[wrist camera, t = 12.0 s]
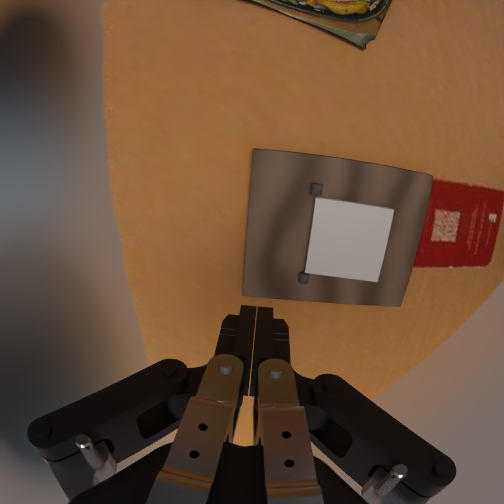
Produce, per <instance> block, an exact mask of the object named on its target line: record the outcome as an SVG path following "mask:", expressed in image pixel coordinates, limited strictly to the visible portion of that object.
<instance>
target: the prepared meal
mask: <svg viewBox="0 0 504 504" xmlns="http://www.w3.org/2000/svg"><path fill="white" fill-rule="evenodd" d="M251 1H255V2H258V3H260V4H263V5H265V6H268V7H270V8H272V9H275V10H277V11H279V12H282V13H284V14H287V15H289V16H292V17H294V18H297V19H300V20H303V21H305V22H308V23H311V24H313V25H316V26H318V27H321V28H323V29H326V30H328V31H330V32H333V33H335V34H337V35H339V36H341V37H343V38H345V39H347V40H349V41H351V42H353V43H355V44H357V45H359V46H360V47H362V48H364V49H366V43H368V42H369V40H372V39H375V37H376V35H377V32H378V30H379V28H380V26H381V24H382V21H383V19H384V17H385V15H386V13H387V11H388V9H389V6H390V4H391V2H392V0H370V2H368V1H366V0H358V1H347V2H337V1H327V0H251ZM302 1H305V2H302ZM378 1H379V3H378V4H377V5H376V8H374V9H373V10H372V11H370V8H371V7H372V6H374V5H375V4H376V3H377V2H378ZM368 3H370V5H369V4H368ZM314 9H319V10H321V11H317V10H314ZM322 11H324V12H322Z"/></svg>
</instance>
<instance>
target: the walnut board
mask: <svg viewBox="0 0 504 504" xmlns="http://www.w3.org/2000/svg"><path fill="white" fill-rule="evenodd" d="M432 180H433V176H432V175H429V174H425V173H421V172H416V171H411V170H407V169H402V168H397V167H391V166H386V165H381V164H375V163H369V162H363V161H357V160H351V159H344V158H338V157H330V156H323V155H315V154H307V153H298V152H289V151H279V150H268V149H256V148H254V149H253V157H252V171H251V184H250V198H249V211H248V225H247V239H246V253H245V268H244V282H243V296H251V297H262V298H273V299H285V300H298V301H311V302H325V303H340V304H357V305H376V306H398V307H400V306H401V304H402V300H403V297H404V294H405V291H406V288H407V285H408V282H409V278H410V275H411V271H412V268H413V264H414V261H415V257H416V254H417V250H418V246H419V242H420V238H421V234H422V230H423V225H424V221H425V216H426V212H427V207H428V202H429V197H430V192H431V186H432ZM315 197H322V198H329V199H336V200H343V201H350V202H356V203H363V204H369V205H375V206H381V207H387V208H393V209H394V213H393V218H392V223H391V228H390V233H389V237H388V242H387V246H386V250H385V254H384V259H383V263H382V267H381V270H380V274H379V278H378V282H372V281H364V280H356V279H348V278H341V277H333V276H325V275H317V274H310V273H305V267H306V261H307V254H308V248H309V241H310V234H311V227H312V220H313V213H314V205H315Z"/></svg>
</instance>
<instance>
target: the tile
mask: <svg viewBox="0 0 504 504" xmlns="http://www.w3.org/2000/svg"><path fill="white" fill-rule="evenodd" d="M393 213H394V209H393V208H387V207H381V206H375V205H369V204H363V203H356V202H350V201H343V200H336V199H329V198H322V197H315V205H314V213H313V220H312V227H311V234H310V241H309V248H308V254H307V261H306V267H305V273H310V274H317V275H325V276H333V277H341V278H348V279H356V280H364V281H372V282H378V278H379V274H380V270H381V267H382V263H383V259H384V254H385V250H386V246H387V242H388V237H389V233H390V228H391V223H392V218H393Z"/></svg>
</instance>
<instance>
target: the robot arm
mask: <svg viewBox="0 0 504 504" xmlns="http://www.w3.org/2000/svg"><path fill="white" fill-rule="evenodd" d="M255 317H256V306H246V305H241V309H240V315H231V314H229V315H228V316H227V317H226V318H225V319H224V320H223V322H222V326H221V330H220V335H219V338H218V342H217V346H216V351H215V355H214V357H213V358H211V359H210V360H209V362H208V364H206V365H204V366H201V367H196V368H187V366H186V365H185V364H184V363H183V362H181V361H179V360H176V359H164V360H161V361H159V362H157V363H155V364H153V365H151V366H149V367H147V368H145V369H143V370H141V371H139V372H137V373H135V374H133V375H131V376H129V377H127V378H125V379H123V380H121V381H119V382H117V383H114V384H112V385H110V386H109V387H106V388H104V389H102V390H100V391H98V392H96V393H93V394H91V395H89V396H87V397H85V398H82V399H80V400H78V401H76V402H74V403H72V404H70V405H67V406H65V407H63V408H60V409H58V410H56V411H54V412H51V413H49V414H46V415H44V416H42V417H40V418H37V419H35V420H34V421H33V422H32V423H31V424H30V425H29V427H28V432H27V434H28V438H29V441H30V442H31V443H32V445H33V446H34V447H35V449H36V450H37V451H38V453H39V455H40V456H41V457H42V458H43V460H44V461H45V462H46V463H47V464H48V465H49V467H50V468H51V470H52V472H53V473H54V475H55V477H56V479H57V480H58V482H59V484H60V486H61V488H62V489H63V491H64V493H65V494H66V496H67V497H68V499H69V501H70V502H69V503H68V504H425V503H426V502H427V501H429V500H430V499H432V498H433V497H434V496H435V495H437V494H438V493H439V492H440V491H441V490H443V489H444V488H445V487H446V486H447V485H449V484H450V483H451V482H452V481H453V479H454V478H455V475H456V466H455V464H454V462H453V461H452V460H451V459H450V458H449V457H448V456H446V455H445V454H443V453H442V452H440V451H439V450H438V449H436V448H435V447H434V446H432V445H431V444H429V443H428V442H426V441H425V440H424V439H422V438H421V437H419V436H418V435H417V434H415V433H414V432H412V431H411V430H410V429H408V428H407V427H406V426H404V425H403V424H402V423H400V422H399V421H397V420H396V419H395V418H393V417H392V416H391V415H389V414H388V413H387V412H385V411H384V410H382V409H381V408H380V407H379V406H377V405H376V404H375V403H373V402H372V401H371V400H369V399H368V398H367V397H365V396H364V395H363V394H362V393H360V392H359V391H358V390H356V389H355V388H354V387H352V386H351V385H350V384H349V383H347V382H346V381H345V380H343V379H342V378H341V377H339V376H337V375H333V374H322V375H319V376H317V377H316V378H315V379H314V380H313V379H310V378H306V377H303V376H301V375H299V374H298V373H296V372H295V371H294V370H293V368H292V366H291V363H290V345H289V328H288V325H287V324H286V322H285V321H284V319H274V318H273V308H269V307H258V310H257V320H256V330H255V340H254V351H253V362H252V373H251V384H250V395H249V396H254V405H253V446H245V447H244V446H239V445H236V444H233V440H234V435H235V431H236V426H237V422H238V417H239V413H240V407H241V405H242V401H243V396H248V389H249V380H250V370H251V360H252V350H253V339H254V328H255ZM177 428H178V431H177V433H176V436H175V438H174V441H173V442H172V443H169V444H166V445H163V446H161V447H159V448H157V449H155V450H154V451H152V452H150V453H149V454H147V455H146V456H144V457H143V458H141V459H139V460H138V461H136V462H135V463H133V464H131V465H130V466H128V467H126V468H125V469H123V470H121V471H120V472H118V473H117V474H115V473H116V470H117V463H119V462H121V461H122V460H125V459H126V458H128V457H130V456H132V455H134V454H135V453H137V452H139V451H141V450H142V449H144V448H146V447H147V446H149V445H151V444H153V443H154V442H156V441H158V440H159V439H161V438H163V437H164V436H166V435H168V434H169V433H171V432H173V431H174V430H176V429H177ZM310 441H311V442H312V443H313V444H314V445H315V446H316V447H317V448H318V449H320V450H321V451H322V452H323V453H324V454H325V455H326V456H327V457H328V458H329V459H331V460H332V461H333V462H334V463H335V464H336V465H337V466H338V467H339V468H341V469H342V470H343V471H344V472H345V473H346V474H348V475H349V476H350V477H351V478H352V479H353V480H354V481H356V482H357V483H358V484H359V485H360V486H362V490H361V495H362V497H361V496H360V495H359V494H358V493H357V492H356V491H355V490H353V489H352V488H351V487H350V486H349V485H348V484H347V483H346V482H345V481H344V480H343V479H341V477H339V476H338V475H337V474H336V473H335V472H334V471H333V470H332V469H331V468H330V467H329V466H328V465H327V464H326V463H324V462H323V461H322V460H320V459H319V458H317V457H315V456H313V453H312V448H311V442H310Z"/></svg>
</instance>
